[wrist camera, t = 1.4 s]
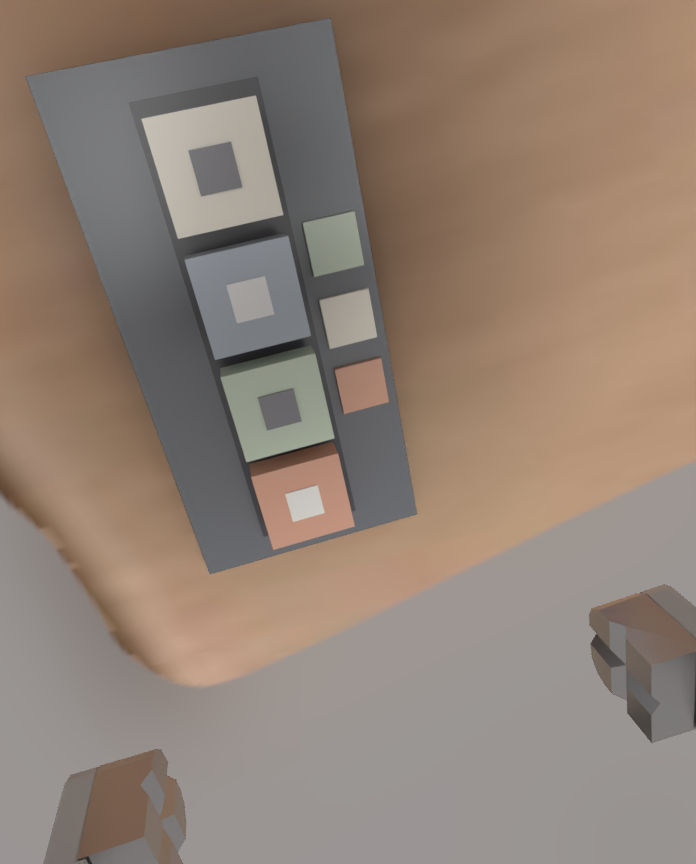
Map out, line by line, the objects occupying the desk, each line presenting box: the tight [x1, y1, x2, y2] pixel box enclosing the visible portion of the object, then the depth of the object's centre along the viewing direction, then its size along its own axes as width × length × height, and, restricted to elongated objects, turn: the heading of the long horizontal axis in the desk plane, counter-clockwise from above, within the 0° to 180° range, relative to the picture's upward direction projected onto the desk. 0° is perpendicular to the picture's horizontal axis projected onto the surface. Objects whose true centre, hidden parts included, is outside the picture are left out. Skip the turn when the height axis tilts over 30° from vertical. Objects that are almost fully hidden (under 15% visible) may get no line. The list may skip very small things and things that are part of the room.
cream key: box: [141, 95, 283, 239], centre depth 23 cm, size 4×4×2 cm
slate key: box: [185, 233, 311, 360], centre depth 25 cm, size 4×4×2 cm
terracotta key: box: [249, 442, 355, 550], centre depth 29 cm, size 4×4×2 cm
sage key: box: [220, 345, 334, 462], centre depth 27 cm, size 4×4×2 cm
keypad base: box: [26, 18, 417, 574], centre depth 29 cm, size 24×12×2 cm, turn 12°
